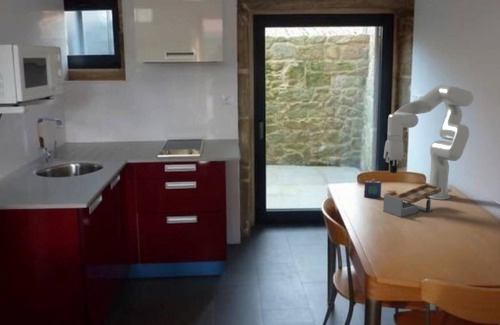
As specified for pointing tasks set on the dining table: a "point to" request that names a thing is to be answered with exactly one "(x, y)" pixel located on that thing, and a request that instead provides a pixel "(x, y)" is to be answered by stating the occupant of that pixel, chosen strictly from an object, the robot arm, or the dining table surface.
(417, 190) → the brown flat piece
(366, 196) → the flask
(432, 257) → the dining table surface
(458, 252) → the dining table surface
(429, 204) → the pivot stand
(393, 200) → the cup
